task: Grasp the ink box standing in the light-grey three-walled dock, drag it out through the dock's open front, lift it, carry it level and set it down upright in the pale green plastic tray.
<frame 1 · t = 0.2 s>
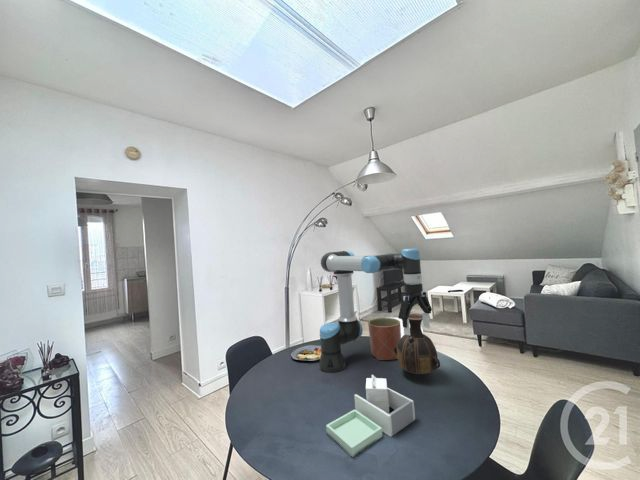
hand: (417, 330, 115), 28 cm above the table, fingers open, 13 cm apart
ink box: (378, 412, 104), on the table
dock: (384, 415, 102), on the table
planter: (386, 355, 157), on the table
food plate: (311, 355, 166), on the table
tray: (354, 435, 93), on the table
vase: (418, 375, 131), on the table
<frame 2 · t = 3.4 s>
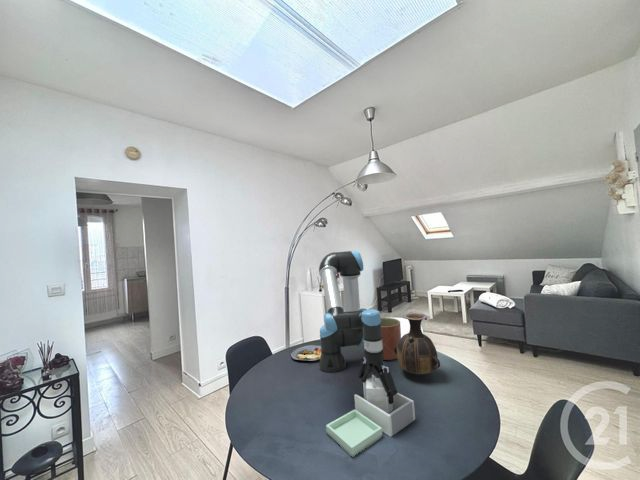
hand: (377, 404, 104), 3 cm above the table, fingers closed on ink box, 11 cm apart
ink box: (378, 412, 104), on the table, touching gripper
everything else where it was.
when the fingers open (6 cm above the table, at t = 11.3 s): ink box drops 2 cm, resting on tray.
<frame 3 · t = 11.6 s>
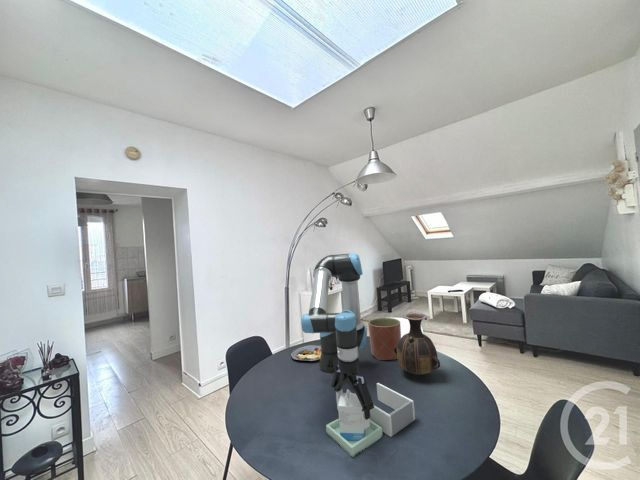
hand: (352, 417, 93), 6 cm above the table, fingers open, 13 cm apart
ink box: (353, 432, 93), point 1 cm above the table, touching tray
everything else where it was.
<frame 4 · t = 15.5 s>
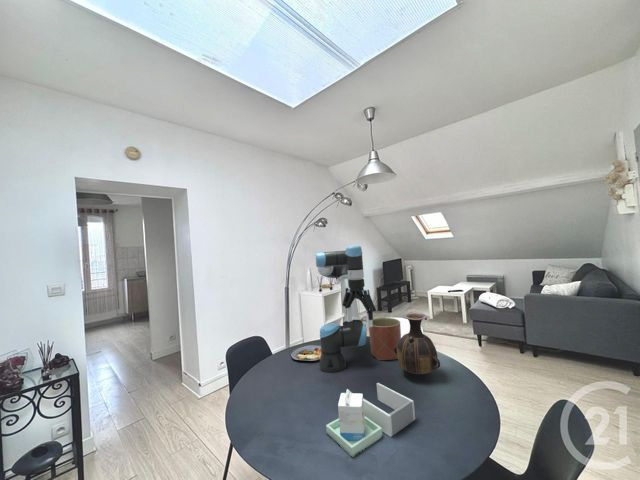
hand: (359, 324, 122), 31 cm above the table, fingers open, 13 cm apart
nothing on the table moved.
at the end: ink box inside the target area on the tray (0.3 cm from its centre), point 0.6 cm above the tray's base; ink box tilted 0°; the gripper is holding nothing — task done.
